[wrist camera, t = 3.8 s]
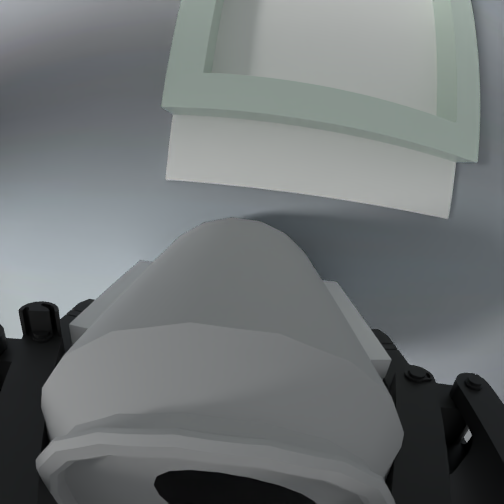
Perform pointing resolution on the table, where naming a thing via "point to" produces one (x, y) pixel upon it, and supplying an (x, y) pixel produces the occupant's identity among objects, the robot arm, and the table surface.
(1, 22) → the table surface
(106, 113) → the table surface
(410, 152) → the green and white tray
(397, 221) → the table surface
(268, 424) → the can
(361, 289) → the table surface
